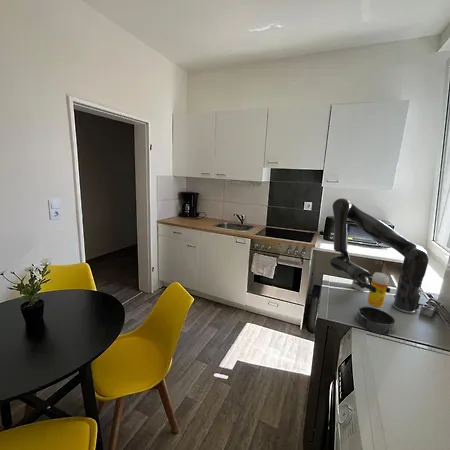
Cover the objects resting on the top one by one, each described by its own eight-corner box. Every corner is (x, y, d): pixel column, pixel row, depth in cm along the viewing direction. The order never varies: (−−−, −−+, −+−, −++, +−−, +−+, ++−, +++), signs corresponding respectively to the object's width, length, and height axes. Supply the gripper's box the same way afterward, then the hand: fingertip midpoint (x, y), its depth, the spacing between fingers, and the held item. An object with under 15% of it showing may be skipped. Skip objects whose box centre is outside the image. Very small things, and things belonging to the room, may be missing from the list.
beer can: (381, 310, 108) (388, 279, 104) (366, 305, 111) (372, 274, 108) (383, 304, 112) (390, 274, 109) (368, 299, 116) (374, 270, 112)
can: (349, 284, 151) (353, 266, 149) (362, 286, 150) (366, 268, 148) (354, 290, 144) (357, 271, 141) (367, 292, 143) (371, 273, 140)
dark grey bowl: (377, 314, 120) (378, 306, 119) (401, 333, 106) (403, 324, 105) (349, 314, 118) (351, 306, 117) (370, 334, 104) (372, 325, 103)
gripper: (346, 267, 122) (369, 282, 106) (372, 267, 124) (399, 283, 107) (343, 281, 124) (365, 298, 107) (369, 281, 125) (395, 298, 109)
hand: (382, 290), depth 107 cm, fingers closed on beer can, 6 cm apart
